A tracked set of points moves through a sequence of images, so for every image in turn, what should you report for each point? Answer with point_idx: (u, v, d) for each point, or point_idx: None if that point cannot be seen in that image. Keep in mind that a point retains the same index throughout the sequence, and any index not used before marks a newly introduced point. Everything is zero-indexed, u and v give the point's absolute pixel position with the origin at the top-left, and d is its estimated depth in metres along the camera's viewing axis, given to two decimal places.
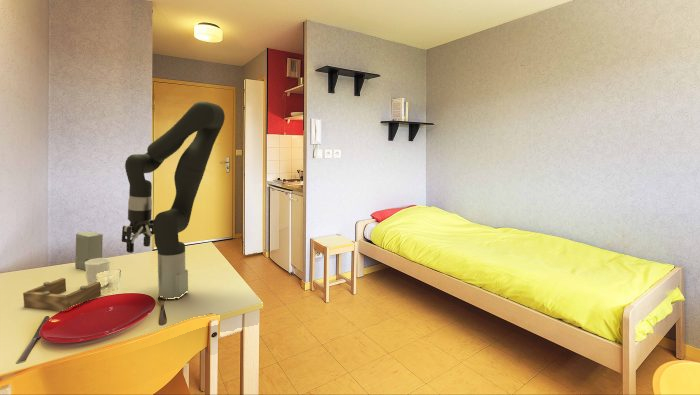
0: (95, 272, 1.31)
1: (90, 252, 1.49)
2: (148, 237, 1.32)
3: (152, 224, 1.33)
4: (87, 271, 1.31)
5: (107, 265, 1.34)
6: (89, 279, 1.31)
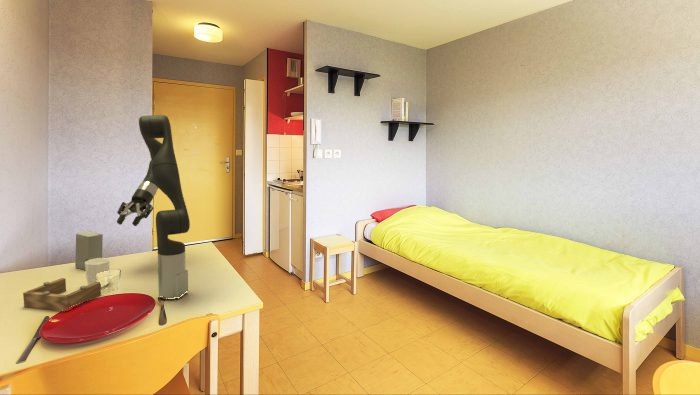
0: (95, 272, 1.31)
1: (90, 252, 1.49)
2: None
3: (146, 206, 1.48)
4: (87, 271, 1.31)
5: (107, 265, 1.34)
6: (89, 279, 1.31)
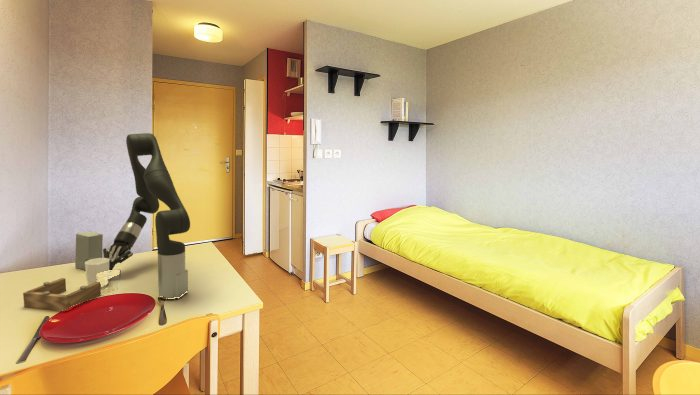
0: (95, 272, 1.31)
1: (90, 252, 1.49)
2: None
3: (125, 252, 1.42)
4: (87, 271, 1.31)
5: (107, 265, 1.34)
6: (89, 279, 1.31)
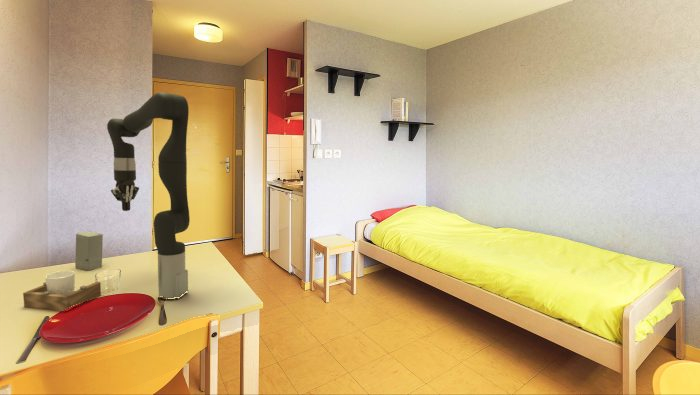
0: (57, 287, 1.16)
1: (90, 252, 1.49)
2: (128, 201, 1.40)
3: (136, 189, 1.43)
4: (48, 286, 1.16)
5: (71, 279, 1.20)
6: None
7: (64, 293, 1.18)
